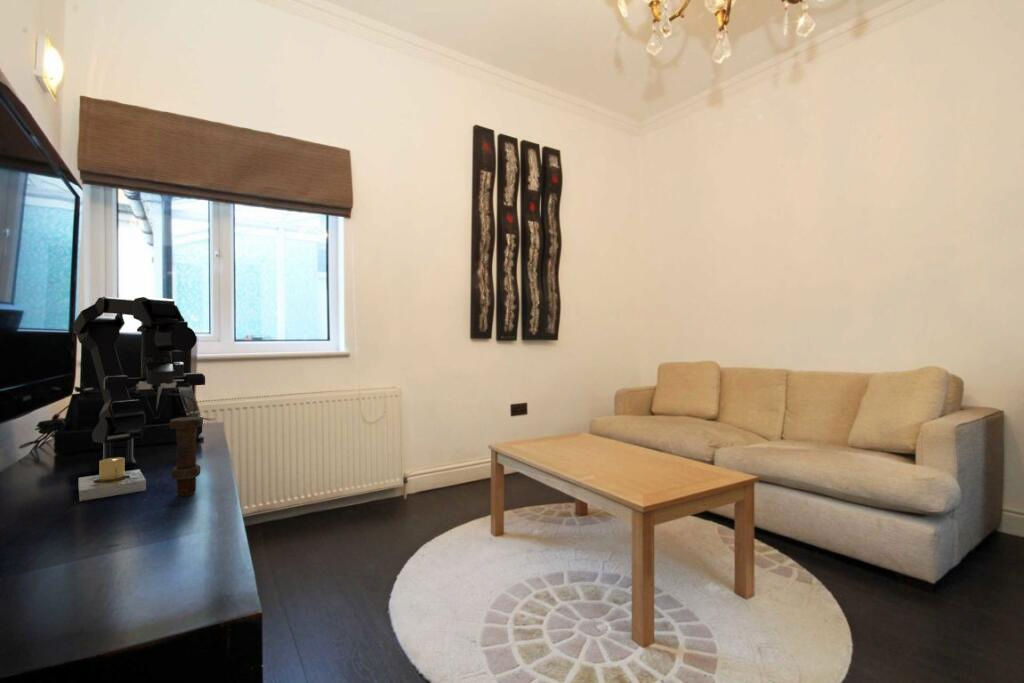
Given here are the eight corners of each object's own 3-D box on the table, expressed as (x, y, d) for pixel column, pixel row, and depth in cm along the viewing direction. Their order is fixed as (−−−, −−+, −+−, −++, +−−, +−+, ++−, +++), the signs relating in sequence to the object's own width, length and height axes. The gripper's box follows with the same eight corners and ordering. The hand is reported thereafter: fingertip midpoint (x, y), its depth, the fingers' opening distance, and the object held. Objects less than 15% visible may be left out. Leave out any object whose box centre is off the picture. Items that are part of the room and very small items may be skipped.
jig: (78, 487, 99) (78, 477, 99) (139, 478, 106) (139, 469, 106) (79, 501, 90) (79, 490, 90) (145, 490, 97) (146, 480, 97)
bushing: (98, 488, 98) (98, 459, 98) (123, 485, 101) (124, 456, 101) (99, 493, 95) (99, 463, 95) (125, 489, 98) (125, 459, 98)
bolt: (209, 491, 96) (209, 416, 96) (190, 499, 91) (190, 420, 91) (182, 490, 97) (183, 416, 97) (162, 498, 92) (162, 420, 92)
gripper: (106, 352, 100) (106, 426, 100) (210, 351, 112) (210, 417, 112) (103, 351, 108) (103, 420, 108) (200, 350, 121) (200, 412, 120)
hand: (156, 417), depth 112 cm, fingers closed
